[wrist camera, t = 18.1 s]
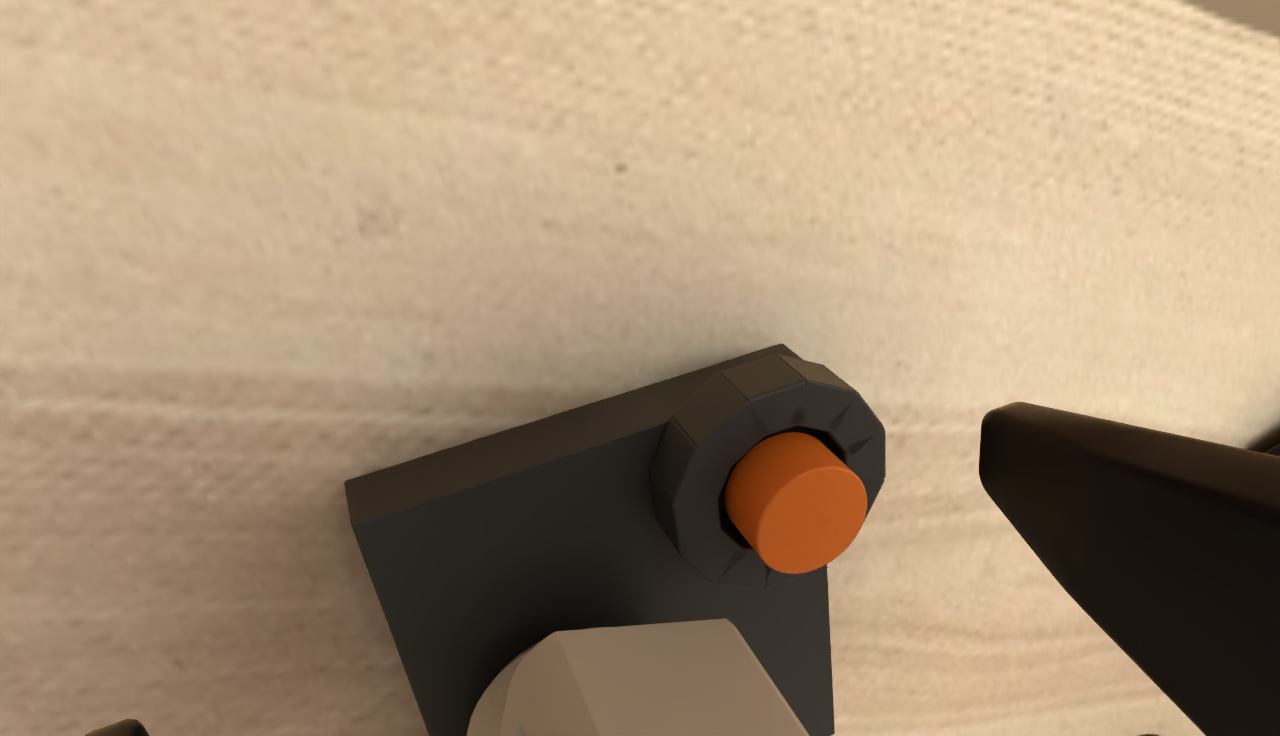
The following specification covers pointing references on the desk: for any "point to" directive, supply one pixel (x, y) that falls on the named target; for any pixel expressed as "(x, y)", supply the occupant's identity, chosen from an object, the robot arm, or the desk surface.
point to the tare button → (795, 502)
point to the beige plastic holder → (636, 686)
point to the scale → (607, 531)
